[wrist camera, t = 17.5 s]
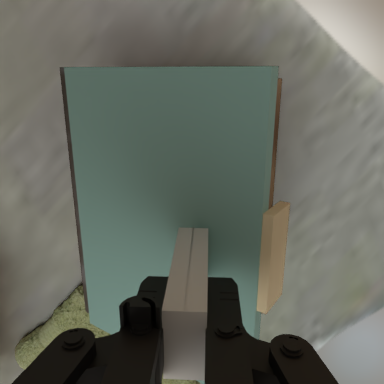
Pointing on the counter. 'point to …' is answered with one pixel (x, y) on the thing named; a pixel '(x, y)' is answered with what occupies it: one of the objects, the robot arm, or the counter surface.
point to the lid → (176, 179)
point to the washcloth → (62, 321)
